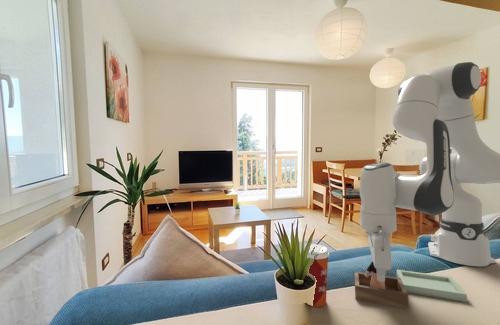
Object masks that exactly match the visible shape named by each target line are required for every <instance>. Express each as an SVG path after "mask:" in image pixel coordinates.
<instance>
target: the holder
mask: <svg viewBox="0 0 500 325" xmlns="http://www.w3.org/2000/svg"><path fill="white" fill-rule="evenodd" d="M365 274H366V272H360V271H354V296H355V297H354V298H355V300H359V301H365V302H369V303H375V304H380V305H385V306H391V307H396V308H402V309H407V310H409V293H408V292H407V291H406V289H405V287H404V285H403V282H402V280H401V278H397V276H396V277H395V276H387V275H385V281H384V282H385V289H381V288H375V287H370V282H371V277H372V273H370V275H369V277H368V278H367V277H365Z"/></svg>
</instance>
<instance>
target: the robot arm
mask: <svg viewBox="0 0 500 325" xmlns="http://www.w3.org/2000/svg"><path fill="white" fill-rule="evenodd" d="M482 79H483V78H482V72H481V70H480V68H479V66H478V65H477V64H475V63H474V62H472V61H467V62H466V61H465V62H459V63H456V64H453V65H449V66H443V67H438V68H435V69H432V70H430V71H427V72H424V73H421V74H418V75H413V76H411V77H409V78H407V79H405V80H404V81H403V82H402V83H400V86H399V88H398V91H397V94H398V97H397V100H396V104H395V107H394V111H393V117H392V125H393V127H394V129H395V130H396V131H397V132H398V133H399V134H400V135H402V136H404V137H406V138H408V139H411V140H415V141H418V142H422V143H425V145H426V156H424V157H423V158H422V159H421V160H420V163H419V167H418V168H419V170H418V171H419V172H420V174H402V173H400V172H398V171H396V170H395V169H394V166H393V164H392V163H389V162H377V163H376V162H375V163H373V162H372V163H369V164H366V165H364V166H363V167H362V168H361V172H360V177H359V198H360V201H361V202H360V203H361V204H360V207H359V227H360V228H361V229H363V230H364V231H365V232H364V233H365V234H366V236H367V237H366V238H367V242H368V245H369V246H368V247H369V250H370V254H371V255H372V256H371V258H372V262H373V263H374V267H375V268H376V270H377V272H376V275H377V280H378V281H381V282H384V281H385V276H386V274H387V273H386V270H389V271H391V270H392V249H391V248H392V247H391V240H390V238H391V237H392V233H395V232H397V209H396V208H400V209H402V210H403V209H405V210H410V211H417V212H419V213H422V214H426V215H431V216H439V215H441V218H440V220H439V227H440V228H438V229H437V231H435V232H434V234H430V241H429V242H428V243H427V245H428V246H427V247H428V249H429V254H430V256H432V257H435V258H438V259H439V258H440V259H442V260H444V261H447V262H450V263H454V264H458V265H463V266H469V267H487V266H489V265H490V264H496V263H497V260H496V259H495V258H494V257H491V255H492V254H491V248H490V241H489V240H490V239H489V238H488V237H487V236H485V234H484V233H485V226H484V225H485V224H484V222H483V211H482V210H483V207H482V206H483V203H482V202H481V200H480V199H479V198H478V197H477V196H475V194H472V193H470V192H467V191H465V190H464V189H463V187H462V185H461V184H473V185H474V184H475V185H476V184H478V185H486V184H487V185H488V184H489V185H490V184H499V183H500V152H498V151H496V150H494V149H492V148H491V147H489V146H488V145H487V144H486V143H485V142H484V141H483V140H482V139H481V137H480V135H479V132H478V129H477V126H476V125H477V124H476V119H475V112H474V107H473V102H472V100H471V96H473V95H474V94H476V92H478V90H479V89H480V87H481V83H482ZM451 148H452V150H454V151H455V152H456V153H454V152H453V153H451Z"/></svg>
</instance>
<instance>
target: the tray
mask: <svg viewBox="0 0 500 325" xmlns="http://www.w3.org/2000/svg"><path fill="white" fill-rule="evenodd" d="M396 278H401V280H402V282H403V285H404V287H405V289H406V291H407V293H408V294H413V295H414V294H415V295H420V296H421V295H422V296H427V297H431V298H432V297H434V298H440V299H445V300H450V301H451V300H452V301H457V302H464V303H467V301H468V299H467V297H468V296H467V293H466V292H465V291H464V289H462V288H461V286H460V285H459V284H458V283H457V282H456V281H455V279H453V277H452V276H449V275H448V276H447V275H439V274H433V273H432V274H431V273H425V272H417V271H411V270H410V271H409V270H403V269H396Z"/></svg>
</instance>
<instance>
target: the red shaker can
mask: <svg viewBox="0 0 500 325" xmlns="http://www.w3.org/2000/svg"><path fill="white" fill-rule="evenodd" d="M310 244H311V246H310V250H309V252H308V255H307V258H310V259H314V256H315V255H316V254H319V255H318V256H317V258H316V259H314V262H313V264H312V265H311V266H310V269H309V273H310V274H312V275H313V276H315V278H316V280H317V282H316V288H315V294H314V300H313V306H312V307H313V308H321V307H324V306H325V305H326V303H327V288H328V270H329V269H328V266H329V264H328V263H329V257H330V253H329V251H328V248H327V247H326V246H324V245H320V244H318V243H317V244H315V243H310ZM304 245H305V246H306V245H307V244H304ZM316 246H317V247H316ZM314 247H315V249H314V252H313V253H312V255H311V251H312V250H313V248H314ZM322 250H323V251H322Z"/></svg>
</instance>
